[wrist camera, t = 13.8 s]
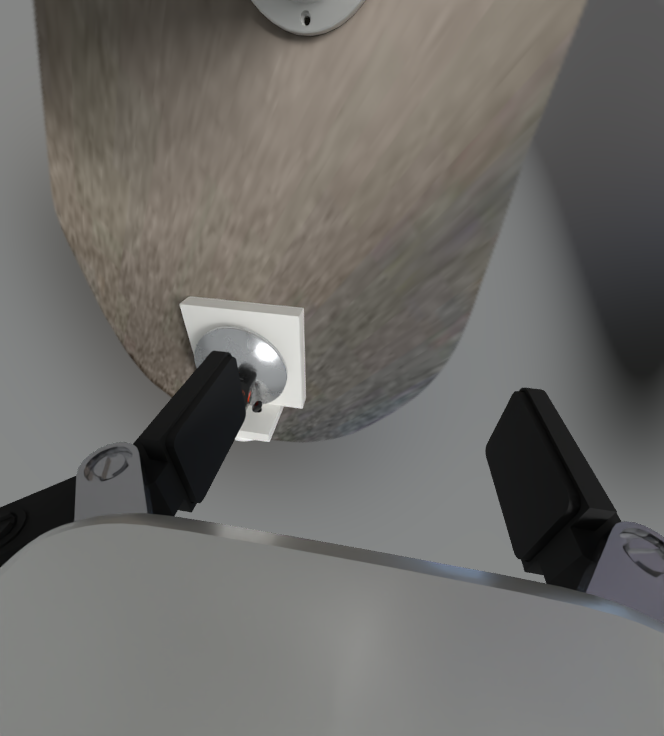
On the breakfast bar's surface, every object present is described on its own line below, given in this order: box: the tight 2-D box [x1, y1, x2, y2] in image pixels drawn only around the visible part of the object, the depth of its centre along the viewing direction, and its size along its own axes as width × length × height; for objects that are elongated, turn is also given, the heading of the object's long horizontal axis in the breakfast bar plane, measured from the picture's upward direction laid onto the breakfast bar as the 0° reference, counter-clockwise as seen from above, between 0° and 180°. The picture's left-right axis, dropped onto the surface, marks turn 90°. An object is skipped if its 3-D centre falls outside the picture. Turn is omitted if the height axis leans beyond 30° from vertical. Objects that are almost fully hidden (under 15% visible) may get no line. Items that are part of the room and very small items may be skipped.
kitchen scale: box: [179, 296, 306, 442], centre depth 44 cm, size 18×16×9 cm
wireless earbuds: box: [238, 366, 262, 413], centre depth 43 cm, size 5×7×3 cm, turn 162°
